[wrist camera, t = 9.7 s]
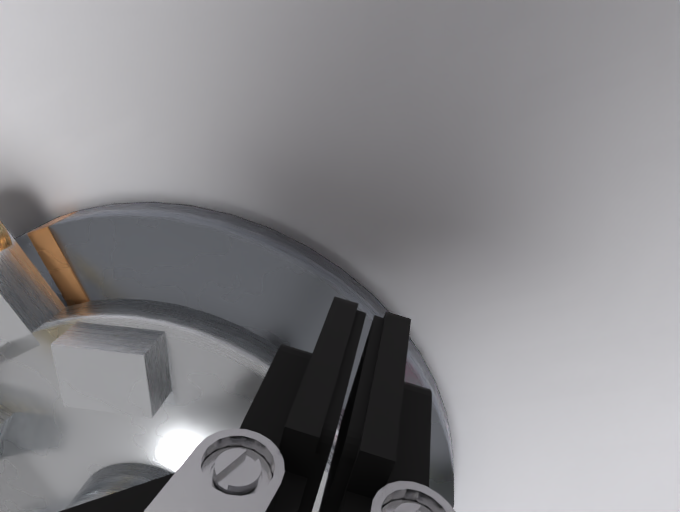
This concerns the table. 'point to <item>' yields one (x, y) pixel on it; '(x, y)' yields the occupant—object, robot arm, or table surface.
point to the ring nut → (111, 389)
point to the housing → (217, 282)
